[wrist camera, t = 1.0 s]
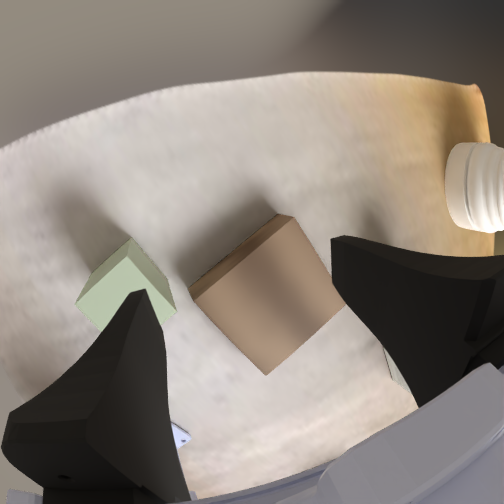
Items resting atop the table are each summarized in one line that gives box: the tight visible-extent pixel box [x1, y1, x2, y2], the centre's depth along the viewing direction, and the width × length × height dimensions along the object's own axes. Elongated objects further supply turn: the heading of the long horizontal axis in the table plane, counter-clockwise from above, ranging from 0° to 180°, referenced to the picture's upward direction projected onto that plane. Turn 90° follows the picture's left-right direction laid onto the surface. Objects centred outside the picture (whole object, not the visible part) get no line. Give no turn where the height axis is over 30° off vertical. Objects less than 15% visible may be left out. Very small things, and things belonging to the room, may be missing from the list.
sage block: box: [75, 237, 177, 332], centre depth 20 cm, size 4×4×7 cm
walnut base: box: [188, 214, 346, 375], centre depth 26 cm, size 10×10×3 cm
